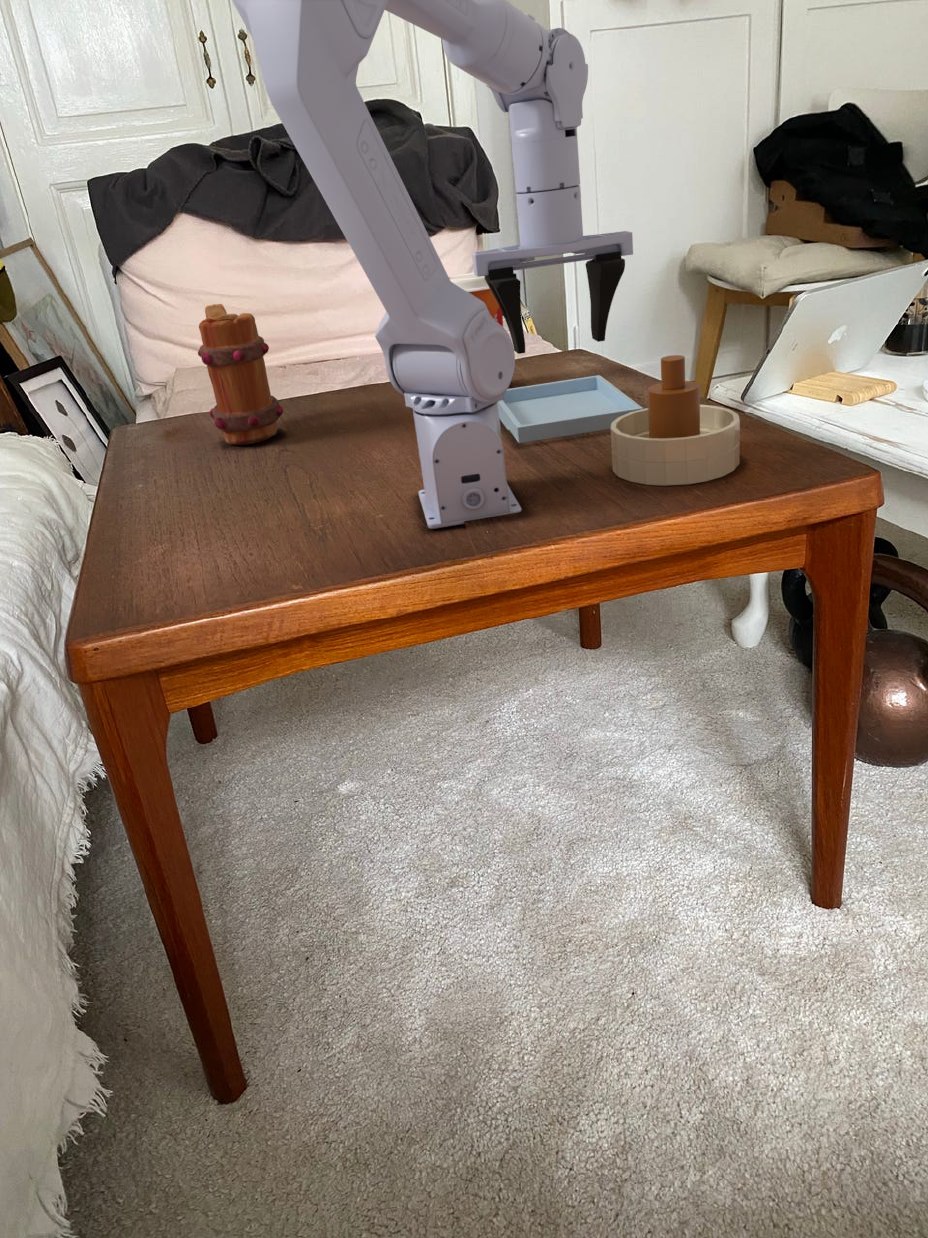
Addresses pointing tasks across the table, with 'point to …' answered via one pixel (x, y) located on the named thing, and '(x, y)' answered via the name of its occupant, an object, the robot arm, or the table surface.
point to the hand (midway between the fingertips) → (559, 345)
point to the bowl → (676, 449)
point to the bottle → (673, 402)
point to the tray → (563, 408)
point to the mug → (238, 376)
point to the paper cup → (479, 292)
